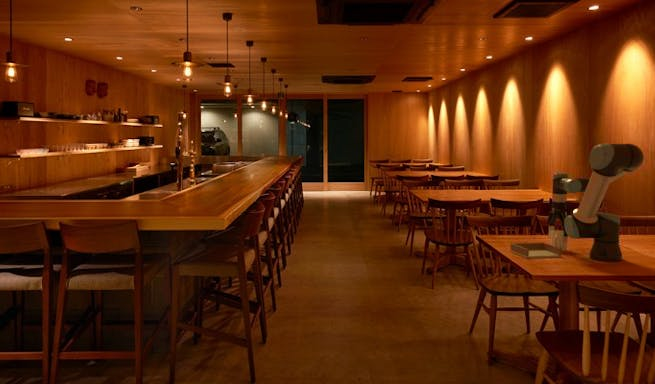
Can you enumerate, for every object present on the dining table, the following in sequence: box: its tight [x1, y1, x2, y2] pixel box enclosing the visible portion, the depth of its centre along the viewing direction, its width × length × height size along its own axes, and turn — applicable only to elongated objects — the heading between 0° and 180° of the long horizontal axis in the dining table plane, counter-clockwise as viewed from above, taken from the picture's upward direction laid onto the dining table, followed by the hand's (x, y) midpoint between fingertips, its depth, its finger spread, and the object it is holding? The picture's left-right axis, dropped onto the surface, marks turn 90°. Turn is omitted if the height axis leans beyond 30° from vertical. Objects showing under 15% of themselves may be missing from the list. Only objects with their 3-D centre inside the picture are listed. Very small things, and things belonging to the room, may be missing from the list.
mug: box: [550, 229, 568, 252], centre depth 314 cm, size 12×8×10 cm
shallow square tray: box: [509, 241, 563, 259], centre depth 303 cm, size 18×19×4 cm
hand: (557, 240), depth 314 cm, fingers open, 13 cm apart
